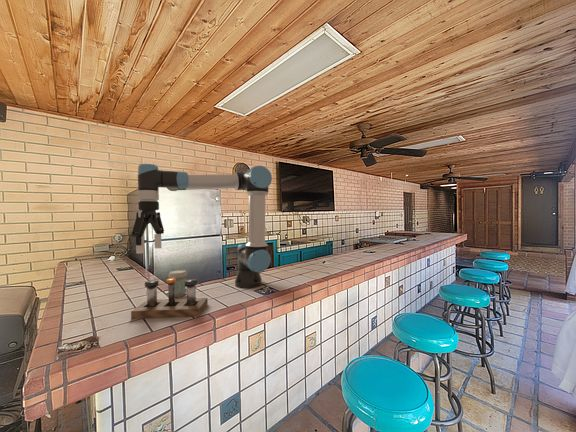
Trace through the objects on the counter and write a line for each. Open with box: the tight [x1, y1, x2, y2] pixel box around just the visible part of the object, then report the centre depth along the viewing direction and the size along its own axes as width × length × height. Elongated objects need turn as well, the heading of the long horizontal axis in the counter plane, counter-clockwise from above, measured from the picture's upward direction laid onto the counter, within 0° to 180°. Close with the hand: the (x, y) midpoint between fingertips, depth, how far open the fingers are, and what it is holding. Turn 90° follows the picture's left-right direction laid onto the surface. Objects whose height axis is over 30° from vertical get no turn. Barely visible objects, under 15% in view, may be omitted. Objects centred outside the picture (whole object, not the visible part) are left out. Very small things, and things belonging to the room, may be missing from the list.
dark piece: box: [166, 278, 176, 305], centre depth 99 cm, size 3×3×10 cm
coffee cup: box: [168, 269, 188, 298], centre depth 118 cm, size 8×8×12 cm
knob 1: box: [144, 279, 160, 306], centre depth 99 cm, size 5×5×10 cm
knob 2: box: [184, 278, 198, 305], centre depth 99 cm, size 5×5×10 cm
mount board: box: [130, 297, 209, 320], centre depth 99 cm, size 26×12×3 cm, turn 93°
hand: (149, 250), depth 101 cm, fingers open, 13 cm apart
